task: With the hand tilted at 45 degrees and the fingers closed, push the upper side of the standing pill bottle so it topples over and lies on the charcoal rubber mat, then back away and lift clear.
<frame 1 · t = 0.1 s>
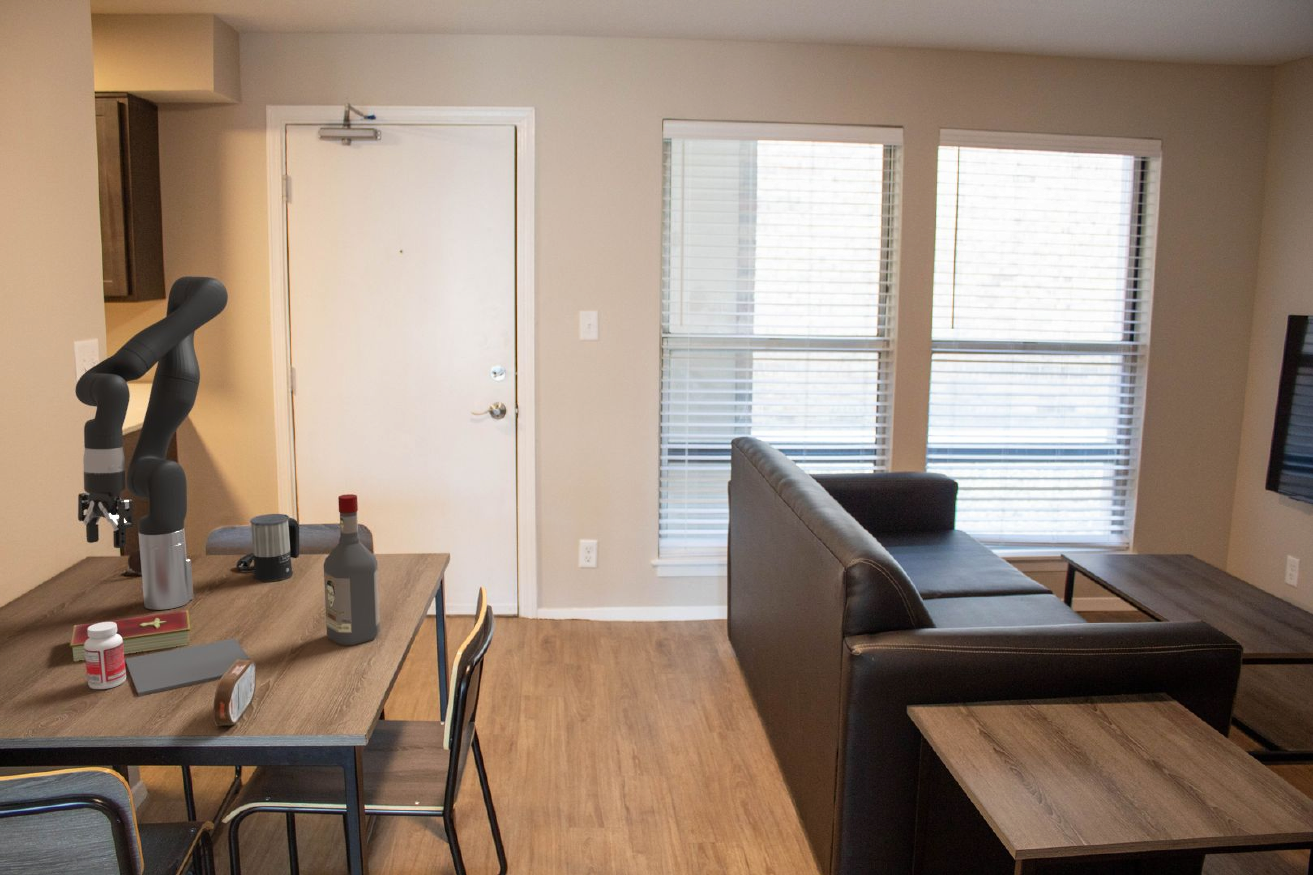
hand: (106, 544, 208), 17 cm above the table, tool pointing down, fingers open, 8 cm apart
compass: (135, 574, 243), on the table
tin: (237, 715, 170), on the table
liquor: (353, 637, 205), on the table
milk frother: (263, 573, 245), on the table
hardcover book: (133, 646, 200), on the table
mat: (190, 666, 189), on the table
pill bottle: (107, 684, 181), on the table
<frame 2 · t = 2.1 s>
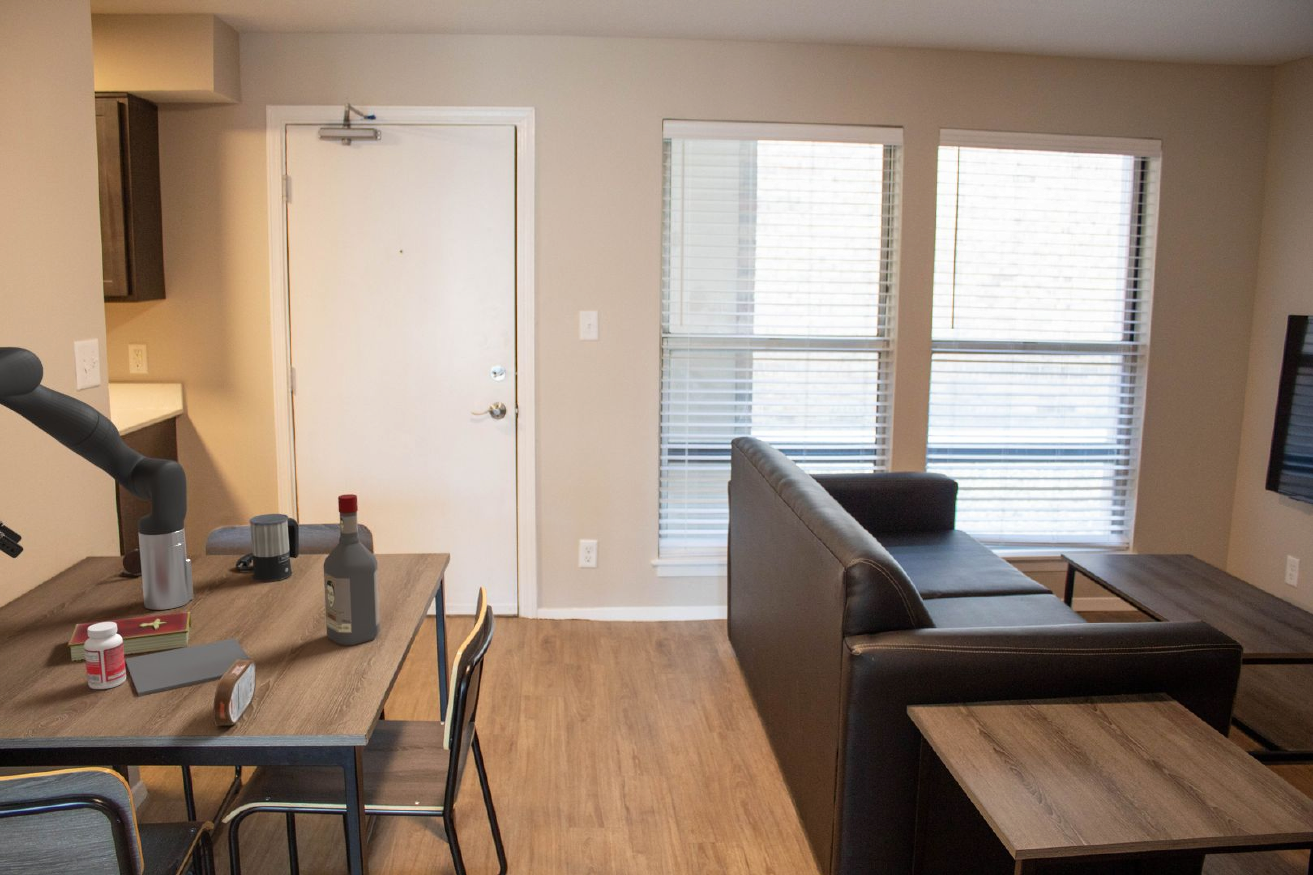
hand: (18, 547, 172), 27 cm above the table, tool tilted 45°, fingers open, 8 cm apart
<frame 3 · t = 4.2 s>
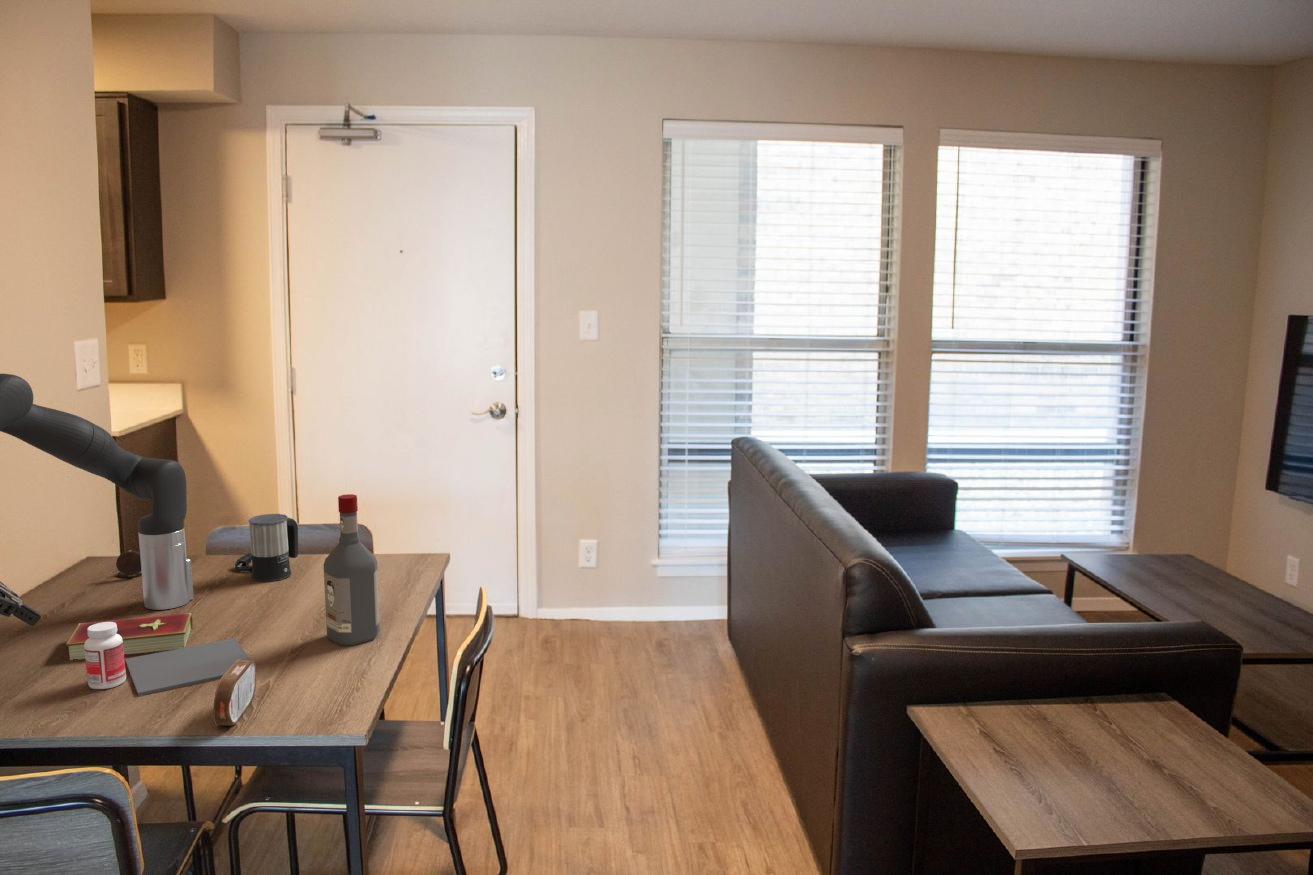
hand: (37, 620, 173), 14 cm above the table, tool tilted 45°, fingers closed
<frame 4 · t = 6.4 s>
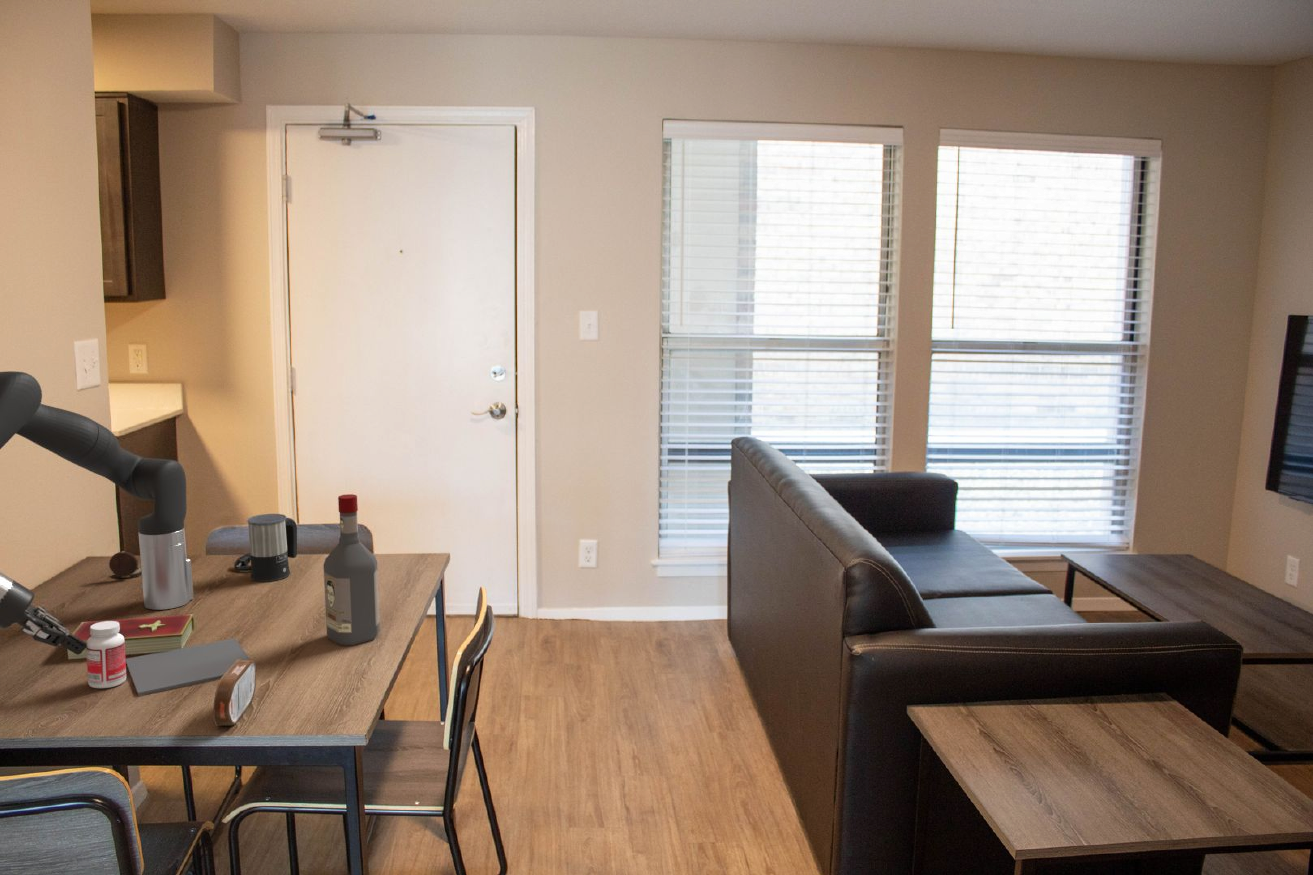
hand: (82, 649, 178), 7 cm above the table, tool tilted 45°, fingers closed
pill bottle: (107, 683, 181), on the table, touching gripper
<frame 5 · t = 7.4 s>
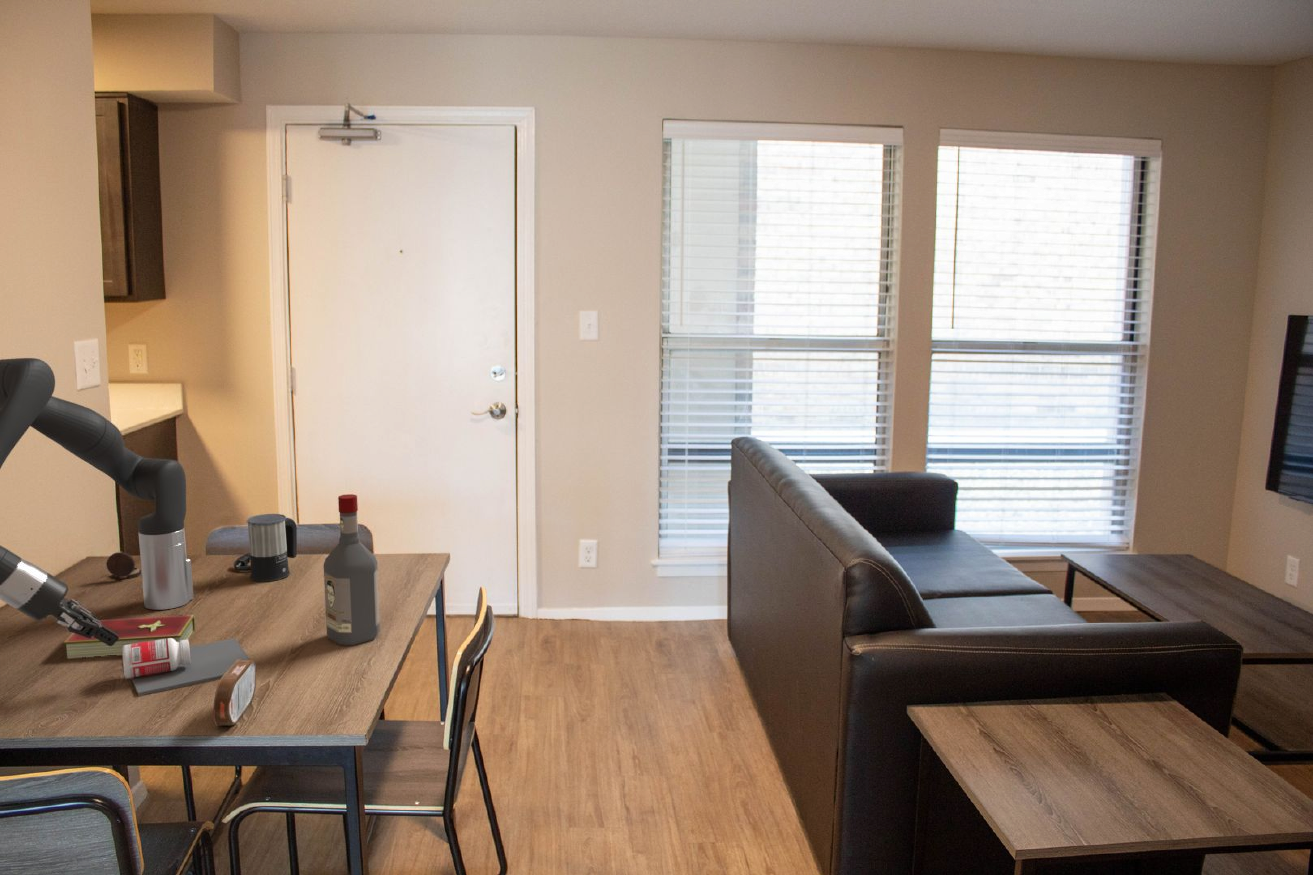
hand: (115, 640, 181), 8 cm above the table, tool tilted 45°, fingers closed
pill bottle: (122, 662, 181), point 4 cm above the table, touching mat
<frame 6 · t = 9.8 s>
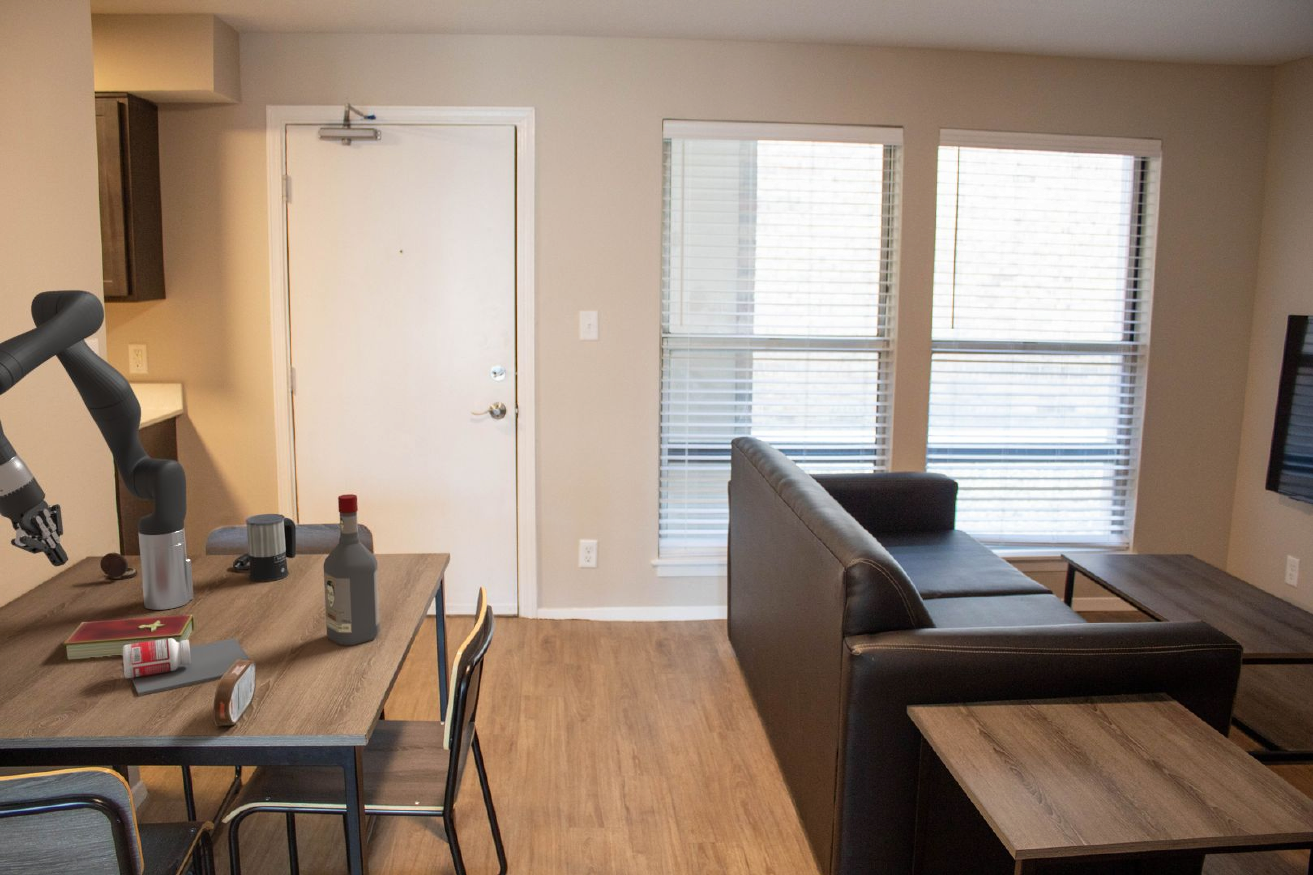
hand: (62, 563, 182), 21 cm above the table, tool tilted 25°, fingers closed
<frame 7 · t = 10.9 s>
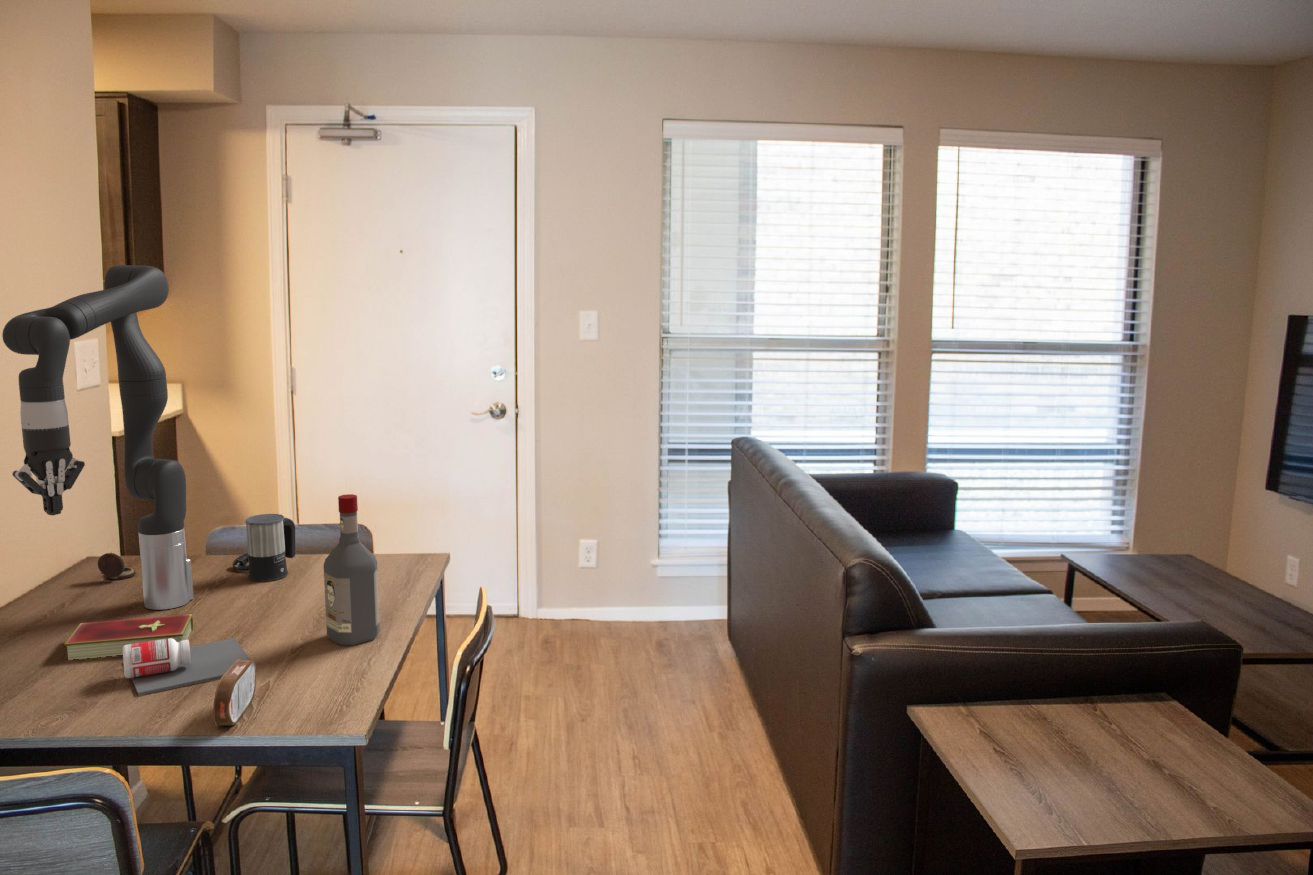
hand: (54, 514, 187), 29 cm above the table, tool pointing down, fingers closed
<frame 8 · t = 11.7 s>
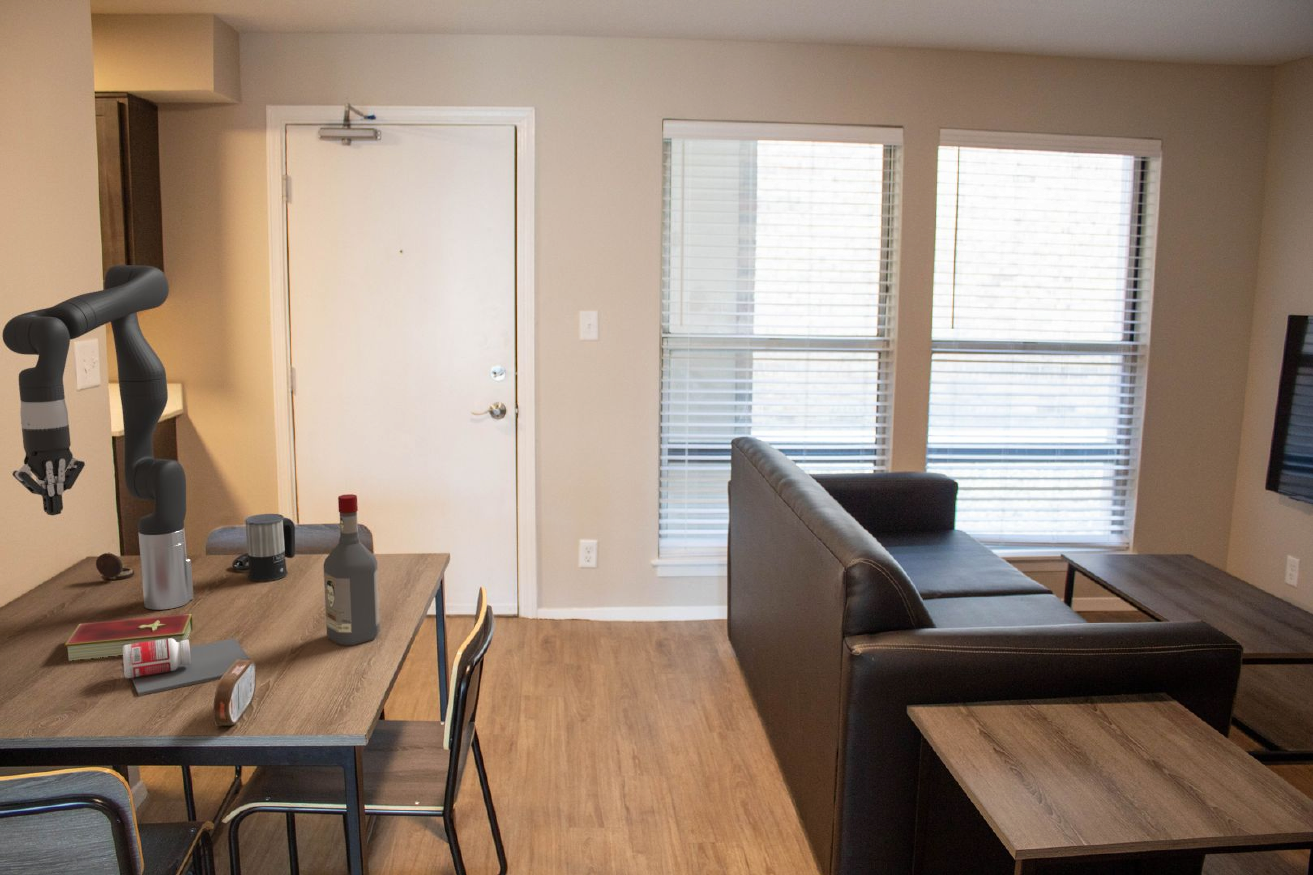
hand: (54, 514, 187), 29 cm above the table, tool pointing down, fingers closed
at the end: pill bottle tilted 90°; pill bottle touching mat; pill bottle 11.3 cm from the mat (horizontally) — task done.
